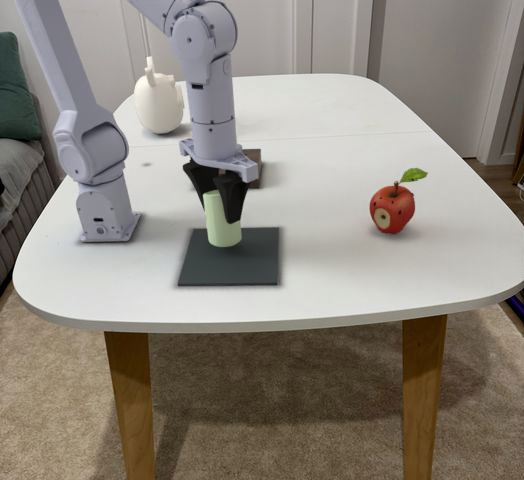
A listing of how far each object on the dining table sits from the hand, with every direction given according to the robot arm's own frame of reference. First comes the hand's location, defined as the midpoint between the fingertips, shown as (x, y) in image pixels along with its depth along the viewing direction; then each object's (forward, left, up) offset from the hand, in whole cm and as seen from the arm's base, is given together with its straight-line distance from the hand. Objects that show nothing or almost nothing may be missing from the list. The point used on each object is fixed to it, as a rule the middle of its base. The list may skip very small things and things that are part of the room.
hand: (222, 215), depth 74 cm
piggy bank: (+56, +20, -6) cm, 60 cm away
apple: (+6, -26, -6) cm, 27 cm away
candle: (0, 0, -4) cm, 4 cm away
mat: (-1, -1, -6) cm, 6 cm away
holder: (+29, +2, -6) cm, 30 cm away
